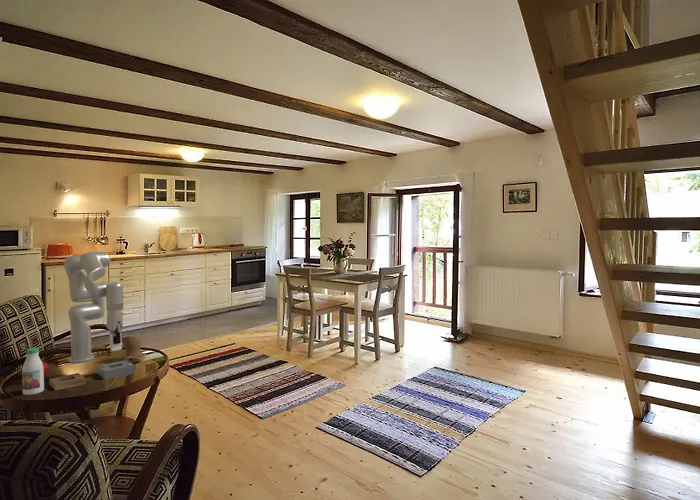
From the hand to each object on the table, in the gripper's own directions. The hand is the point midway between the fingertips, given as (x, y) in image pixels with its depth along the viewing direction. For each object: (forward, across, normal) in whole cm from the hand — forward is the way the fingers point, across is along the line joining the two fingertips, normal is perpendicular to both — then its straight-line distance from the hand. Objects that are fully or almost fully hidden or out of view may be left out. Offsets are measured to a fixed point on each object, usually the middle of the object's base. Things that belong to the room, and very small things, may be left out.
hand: (115, 342), depth 209 cm
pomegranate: (+16, -27, -28) cm, 42 cm away
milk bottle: (+16, -1, -34) cm, 38 cm away
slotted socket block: (+16, -1, -21) cm, 27 cm away
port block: (+16, -1, 0) cm, 16 cm away
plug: (+4, 0, 0) cm, 4 cm away
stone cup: (+16, -20, +15) cm, 30 cm away
